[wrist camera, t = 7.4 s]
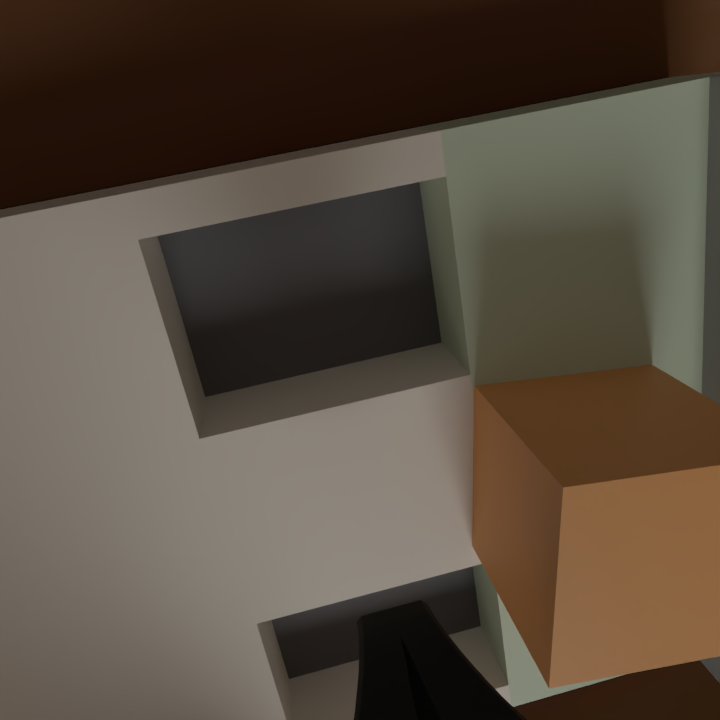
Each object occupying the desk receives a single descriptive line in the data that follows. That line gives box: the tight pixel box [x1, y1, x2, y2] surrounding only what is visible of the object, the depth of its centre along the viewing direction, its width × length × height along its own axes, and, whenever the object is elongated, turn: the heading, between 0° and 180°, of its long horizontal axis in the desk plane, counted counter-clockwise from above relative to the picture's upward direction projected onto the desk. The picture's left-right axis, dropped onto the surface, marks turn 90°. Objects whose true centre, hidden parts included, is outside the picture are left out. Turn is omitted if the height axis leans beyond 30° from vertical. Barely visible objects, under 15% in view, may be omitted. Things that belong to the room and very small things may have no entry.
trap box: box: [0, 72, 720, 720], centre depth 18 cm, size 18×22×5 cm
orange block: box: [472, 365, 720, 688], centre depth 16 cm, size 5×5×5 cm
